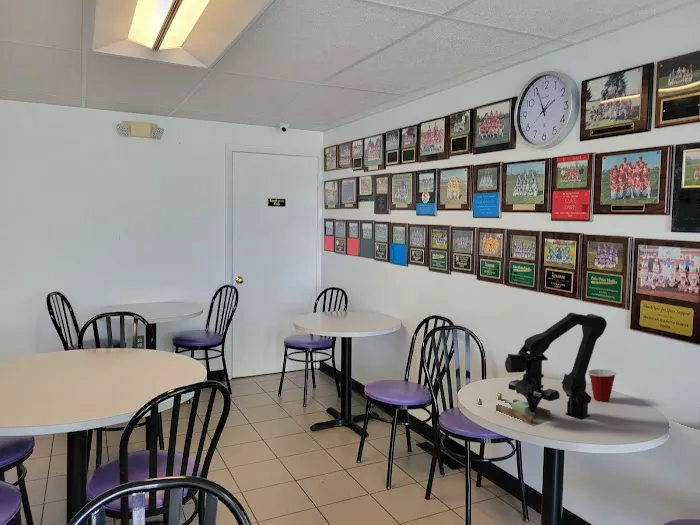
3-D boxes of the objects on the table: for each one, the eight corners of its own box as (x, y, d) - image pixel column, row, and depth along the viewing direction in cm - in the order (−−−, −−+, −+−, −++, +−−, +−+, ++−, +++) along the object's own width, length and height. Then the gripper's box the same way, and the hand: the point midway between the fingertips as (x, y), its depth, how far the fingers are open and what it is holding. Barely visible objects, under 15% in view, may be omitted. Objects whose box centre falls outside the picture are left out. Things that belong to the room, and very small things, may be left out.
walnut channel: (550, 417, 202) (550, 410, 202) (530, 423, 195) (530, 417, 195) (515, 405, 215) (515, 399, 215) (495, 411, 208) (495, 405, 208)
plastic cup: (588, 393, 229) (589, 366, 228) (616, 398, 224) (617, 370, 223) (584, 401, 220) (585, 372, 219) (613, 405, 215) (615, 376, 214)
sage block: (534, 414, 204) (534, 404, 204) (524, 417, 201) (525, 407, 200) (521, 410, 209) (521, 400, 209) (511, 413, 205) (511, 403, 205)
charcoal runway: (556, 418, 201) (556, 417, 201) (533, 426, 193) (533, 425, 193) (497, 398, 224) (497, 397, 224) (474, 404, 215) (474, 404, 215)
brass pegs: (502, 399, 221) (502, 394, 221) (479, 406, 213) (479, 400, 213) (499, 398, 223) (499, 393, 222) (476, 405, 214) (476, 399, 214)
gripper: (499, 369, 203) (498, 409, 204) (542, 381, 188) (541, 424, 189) (517, 365, 209) (517, 403, 210) (561, 376, 194) (559, 417, 195)
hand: (532, 412), depth 201 cm, fingers closed
